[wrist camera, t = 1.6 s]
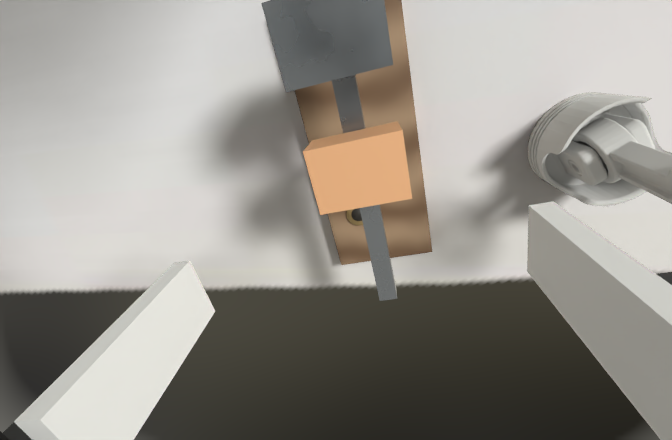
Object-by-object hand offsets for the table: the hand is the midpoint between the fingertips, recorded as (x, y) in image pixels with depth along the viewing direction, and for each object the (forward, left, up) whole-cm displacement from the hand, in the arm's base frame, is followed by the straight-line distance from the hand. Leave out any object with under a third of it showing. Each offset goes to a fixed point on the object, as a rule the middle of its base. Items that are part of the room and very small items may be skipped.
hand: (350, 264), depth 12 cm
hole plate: (+1, 0, -27) cm, 27 cm away
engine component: (+6, +23, -27) cm, 36 cm away
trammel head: (0, 0, -24) cm, 24 cm away
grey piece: (+2, 0, -25) cm, 25 cm away
